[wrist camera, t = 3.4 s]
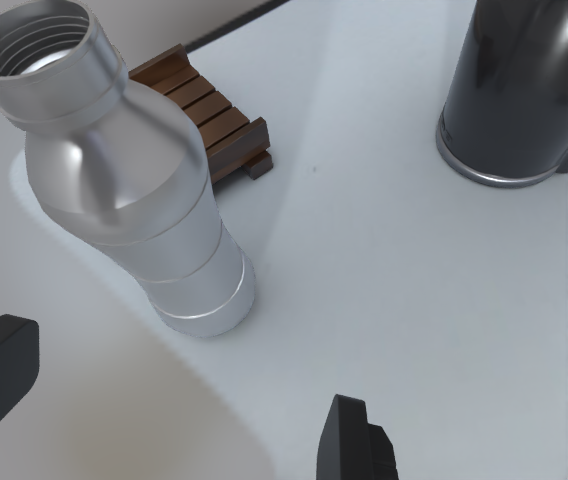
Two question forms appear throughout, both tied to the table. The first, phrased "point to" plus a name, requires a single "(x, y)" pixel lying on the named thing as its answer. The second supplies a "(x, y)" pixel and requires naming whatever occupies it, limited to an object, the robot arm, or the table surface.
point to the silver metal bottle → (120, 165)
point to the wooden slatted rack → (209, 115)
